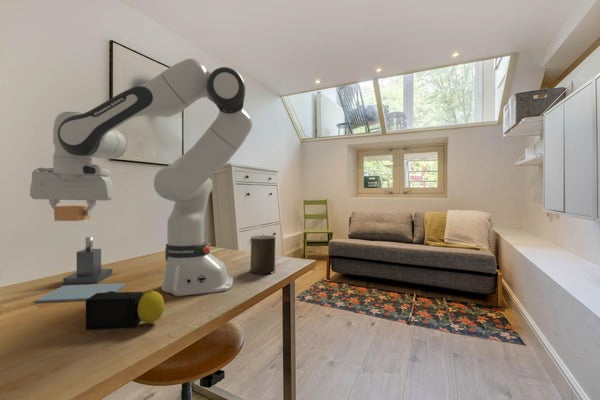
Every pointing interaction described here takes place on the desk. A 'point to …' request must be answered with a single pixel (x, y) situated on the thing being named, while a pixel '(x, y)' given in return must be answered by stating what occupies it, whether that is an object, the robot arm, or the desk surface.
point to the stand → (88, 266)
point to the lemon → (150, 307)
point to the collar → (69, 213)
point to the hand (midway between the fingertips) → (73, 215)
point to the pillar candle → (262, 254)
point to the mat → (79, 292)
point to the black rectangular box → (112, 310)
